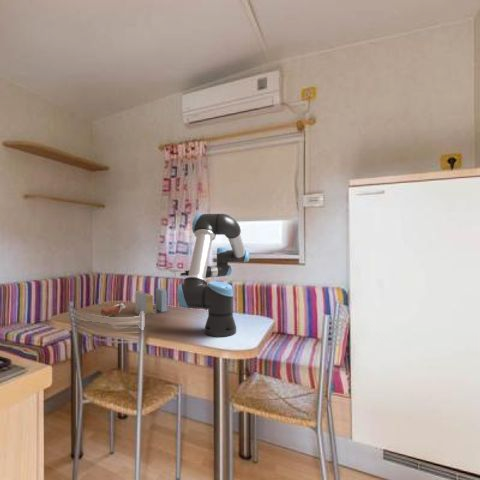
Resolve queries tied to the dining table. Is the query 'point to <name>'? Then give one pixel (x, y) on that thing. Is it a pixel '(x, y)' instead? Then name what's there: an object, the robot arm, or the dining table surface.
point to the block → (149, 304)
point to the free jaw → (161, 299)
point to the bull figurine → (112, 310)
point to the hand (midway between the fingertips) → (175, 274)
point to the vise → (143, 303)
